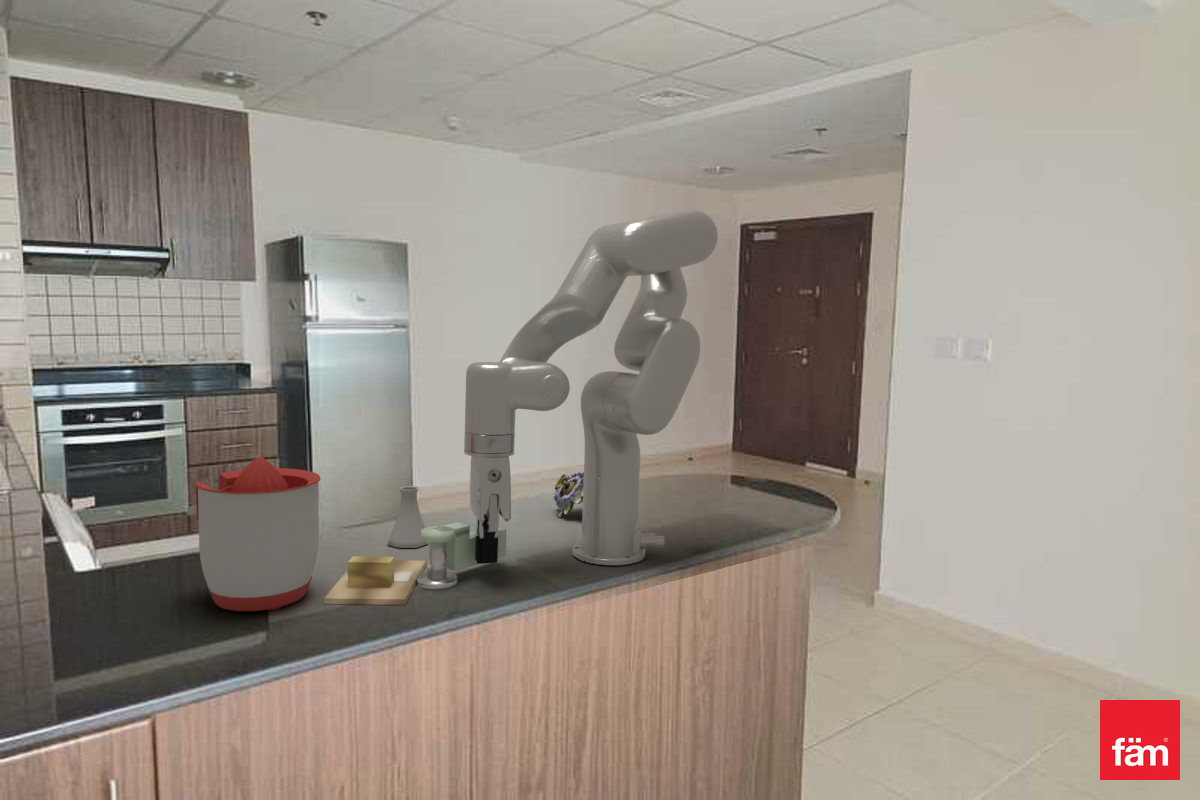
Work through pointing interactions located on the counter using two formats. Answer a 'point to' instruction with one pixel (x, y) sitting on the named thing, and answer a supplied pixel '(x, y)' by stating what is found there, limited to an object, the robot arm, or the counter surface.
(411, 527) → the flask
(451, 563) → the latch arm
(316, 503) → the citrus juicer
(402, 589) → the oak board
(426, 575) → the post
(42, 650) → the counter surface
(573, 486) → the passion flower
